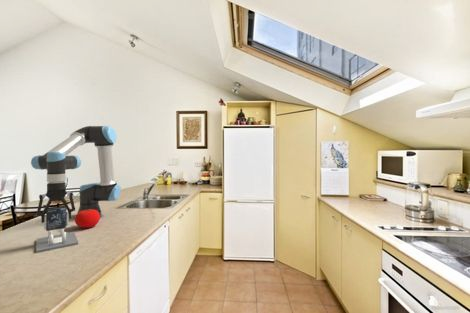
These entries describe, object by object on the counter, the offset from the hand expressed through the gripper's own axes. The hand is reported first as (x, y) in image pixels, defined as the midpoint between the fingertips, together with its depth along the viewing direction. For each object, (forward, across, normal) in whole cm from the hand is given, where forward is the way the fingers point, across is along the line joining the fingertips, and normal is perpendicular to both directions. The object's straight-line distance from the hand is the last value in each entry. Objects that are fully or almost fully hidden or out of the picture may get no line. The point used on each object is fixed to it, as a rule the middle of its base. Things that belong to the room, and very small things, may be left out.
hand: (56, 226), depth 119 cm
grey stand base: (+8, 0, 0) cm, 8 cm away
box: (+1, 0, 0) cm, 1 cm away
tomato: (+8, -16, -19) cm, 26 cm away
